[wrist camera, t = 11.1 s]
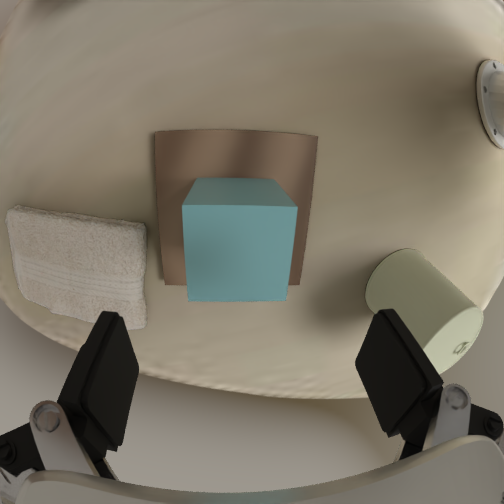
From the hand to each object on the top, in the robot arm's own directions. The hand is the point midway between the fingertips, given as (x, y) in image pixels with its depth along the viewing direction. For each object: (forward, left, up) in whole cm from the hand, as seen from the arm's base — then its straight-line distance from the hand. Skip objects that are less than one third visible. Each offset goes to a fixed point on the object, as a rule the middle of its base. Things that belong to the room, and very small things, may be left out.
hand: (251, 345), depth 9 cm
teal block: (0, 0, -15) cm, 15 cm away
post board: (0, 0, -16) cm, 16 cm away
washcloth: (+17, +5, -17) cm, 25 cm away
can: (-19, +8, -16) cm, 26 cm away
